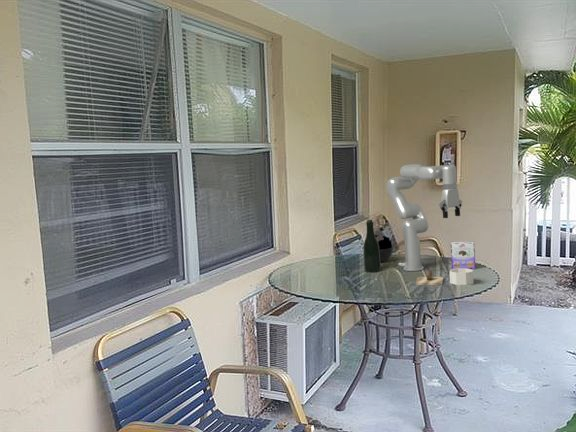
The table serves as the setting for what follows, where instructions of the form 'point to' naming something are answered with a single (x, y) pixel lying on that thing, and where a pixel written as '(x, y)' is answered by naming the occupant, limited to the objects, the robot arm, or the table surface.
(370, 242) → the beer bottle
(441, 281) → the lid
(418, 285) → the mat
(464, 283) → the bowl
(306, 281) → the table surface
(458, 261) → the candy box
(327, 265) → the table surface
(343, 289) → the table surface
